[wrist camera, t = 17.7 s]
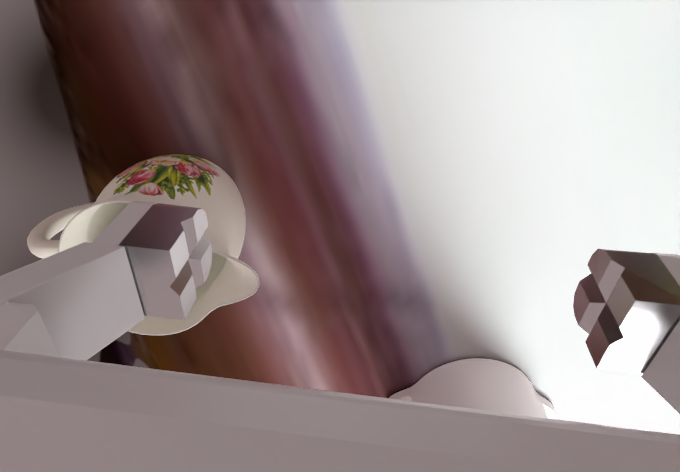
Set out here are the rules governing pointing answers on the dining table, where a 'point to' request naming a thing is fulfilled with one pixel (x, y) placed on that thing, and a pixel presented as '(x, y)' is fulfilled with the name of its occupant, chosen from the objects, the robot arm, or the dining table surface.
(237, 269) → the pitcher
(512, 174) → the dining table surface
